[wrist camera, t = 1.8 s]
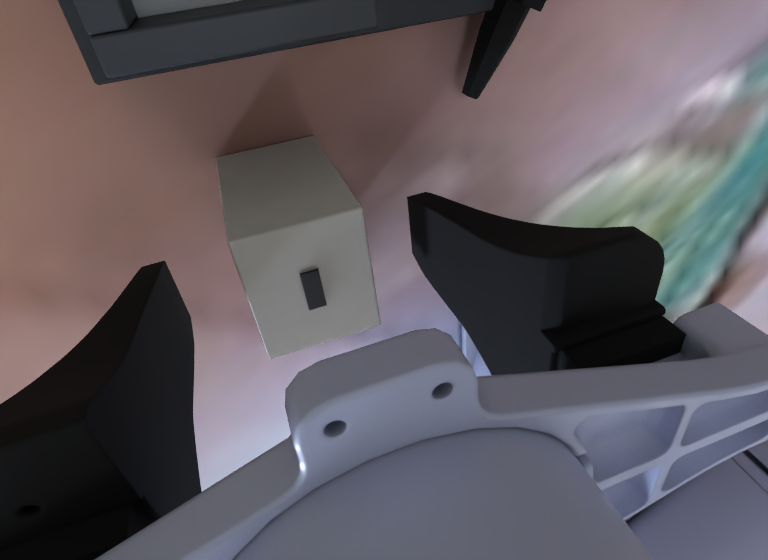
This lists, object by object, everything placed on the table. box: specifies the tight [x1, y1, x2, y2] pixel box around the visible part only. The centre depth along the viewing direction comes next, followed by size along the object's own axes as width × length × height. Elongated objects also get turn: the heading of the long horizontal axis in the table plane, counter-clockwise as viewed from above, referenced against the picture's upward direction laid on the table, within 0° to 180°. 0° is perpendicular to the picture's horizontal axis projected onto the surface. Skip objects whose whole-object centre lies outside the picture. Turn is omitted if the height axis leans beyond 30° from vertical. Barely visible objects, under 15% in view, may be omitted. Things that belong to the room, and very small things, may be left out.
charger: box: [216, 136, 381, 359], centre depth 15 cm, size 4×3×6 cm
